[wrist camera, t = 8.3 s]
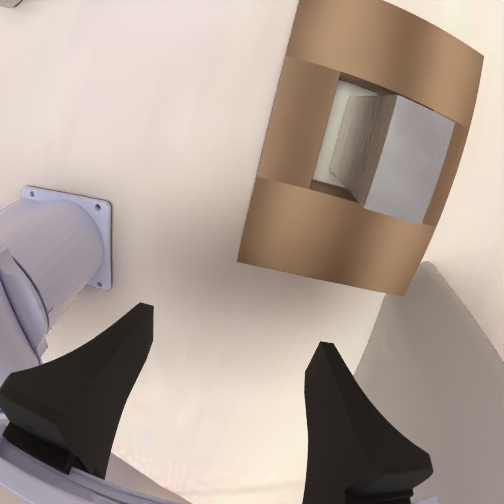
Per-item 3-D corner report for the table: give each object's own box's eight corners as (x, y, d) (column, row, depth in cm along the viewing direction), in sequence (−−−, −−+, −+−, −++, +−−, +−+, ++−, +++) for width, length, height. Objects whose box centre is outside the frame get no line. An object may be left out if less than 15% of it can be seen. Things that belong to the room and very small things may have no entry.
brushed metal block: (329, 168, 19) (363, 208, 12) (348, 97, 17) (398, 94, 10) (369, 181, 19) (420, 226, 12) (389, 112, 17) (454, 122, 10)
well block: (241, 241, 22) (237, 261, 19) (301, -8, 14) (306, -25, 11) (390, 274, 22) (403, 296, 20) (460, 58, 14) (483, 56, 12)
